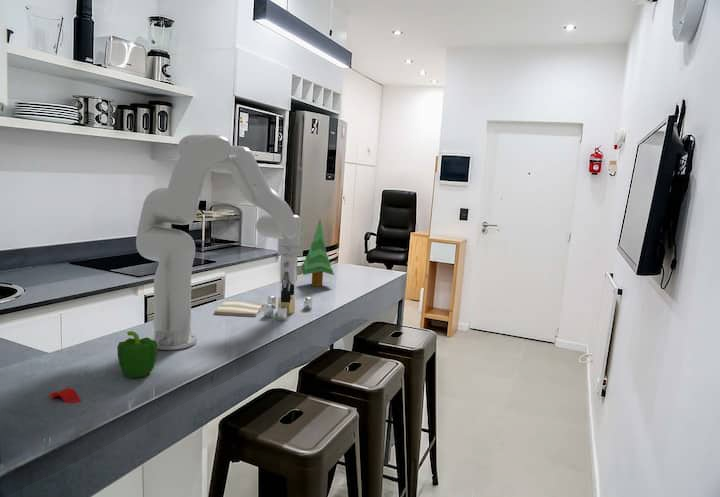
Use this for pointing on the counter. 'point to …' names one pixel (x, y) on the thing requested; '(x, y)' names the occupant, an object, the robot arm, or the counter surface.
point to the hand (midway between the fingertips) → (287, 298)
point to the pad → (239, 308)
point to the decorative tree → (317, 259)
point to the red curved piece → (66, 395)
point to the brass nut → (287, 305)
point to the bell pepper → (137, 355)
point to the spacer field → (282, 310)
